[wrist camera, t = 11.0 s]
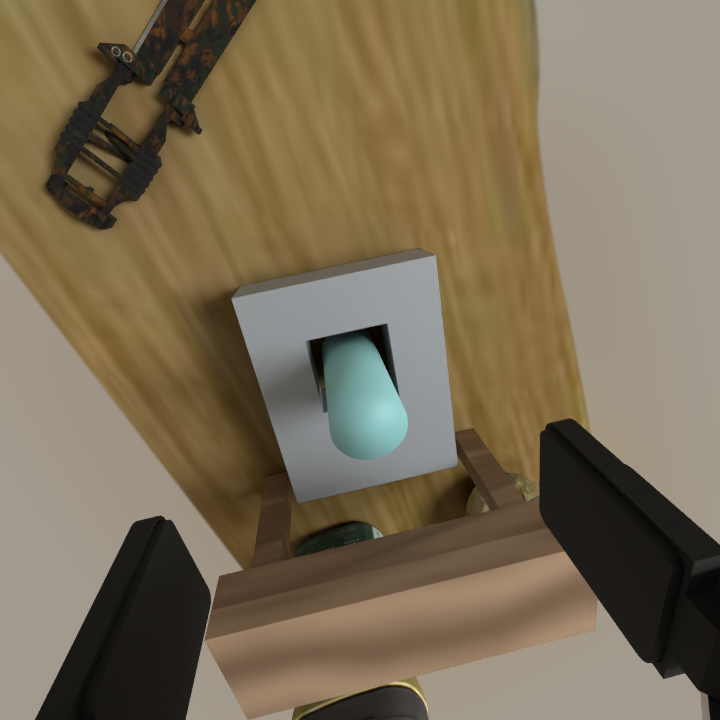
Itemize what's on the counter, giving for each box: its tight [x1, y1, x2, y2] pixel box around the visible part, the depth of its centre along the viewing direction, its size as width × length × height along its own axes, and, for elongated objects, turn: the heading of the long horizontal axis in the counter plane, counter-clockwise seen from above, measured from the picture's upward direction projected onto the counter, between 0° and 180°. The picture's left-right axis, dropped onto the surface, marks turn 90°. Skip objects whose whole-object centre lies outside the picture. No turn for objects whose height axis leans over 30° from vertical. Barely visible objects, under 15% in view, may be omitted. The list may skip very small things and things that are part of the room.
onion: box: [466, 473, 539, 516], centre depth 37 cm, size 8×8×8 cm
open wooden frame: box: [205, 429, 598, 719], centre depth 29 cm, size 7×20×18 cm, turn 101°
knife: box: [46, 0, 256, 229], centre depth 24 cm, size 25×6×1 cm, turn 134°
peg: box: [322, 329, 408, 460], centre depth 28 cm, size 4×4×12 cm
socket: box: [231, 248, 458, 504], centre depth 32 cm, size 18×14×4 cm
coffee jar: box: [292, 522, 428, 720], centre depth 33 cm, size 10×8×19 cm
